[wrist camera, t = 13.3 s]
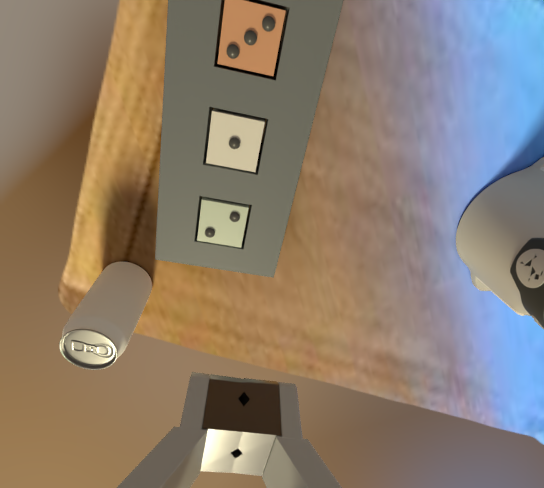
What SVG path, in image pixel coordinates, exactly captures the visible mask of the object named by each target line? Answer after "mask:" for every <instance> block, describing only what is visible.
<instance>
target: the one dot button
mask: <svg viewBox="0 0 544 488" xmlns="http://www.w3.org/2000/svg"><path fill="white" fill-rule="evenodd" d="M264 124H265V118H261V117H256V116H251V115H246V114H242V113H237V112H232V111H227V110H223V109H218V108H214V109H213V110H212V115H211V124H210V132H209V141H208V150H207V158H206V163H209V164H214V165H219V166H224V167H230V168H235V169H240V170H246V171H251V172H256V166H257V161H258V156H259V150H260V145H261V140H262V134H263V129H264Z"/></svg>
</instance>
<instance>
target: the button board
mask: <svg viewBox="0 0 544 488" xmlns="http://www.w3.org/2000/svg"><path fill="white" fill-rule="evenodd" d="M247 1H251V2H255V3H259V4H263V5H267V6H271V7H275V8H279V9H283V10H287V16H286V21H285V26H284V31H283V37H282V42H281V47H280V53H279V58H278V63H277V68H276V74H275V78H274V77H269V76H265V75H260V74H256V73H251V72H247V71H242V70H238V69H234V68H229V67H225V66H220V65H218V64H217V63H218V55H219V46H220V37H221V29H222V20H223V11H224V3H225V0H168V16H167V36H166V56H165V75H164V95H163V115H162V134H161V154H160V174H159V194H158V213H157V233H156V253H155V259H156V260H162V261H169V262H175V263H182V264H189V265H195V266H202V267H208V268H215V269H221V270H228V271H234V272H241V273H247V274H254V275H260V276H267V277H273V278H274V274H275V270H276V266H277V262H278V258H279V254H280V250H281V246H282V242H283V238H284V234H285V230H286V226H287V222H288V218H289V214H290V210H291V206H292V202H293V198H294V194H295V191H296V187H297V183H298V179H299V175H300V171H301V167H302V163H303V159H304V155H305V151H306V147H307V143H308V139H309V135H310V131H311V127H312V123H313V119H314V115H315V111H316V107H317V103H318V99H319V95H320V91H321V87H322V83H323V79H324V75H325V71H326V67H327V63H328V59H329V55H330V51H331V47H332V43H333V39H334V35H335V31H336V28H337V24H338V20H339V16H340V12H341V8H342V4H343V0H247ZM212 108H218V109H223V110H227V111H232V112H237V113H242V114H246V115H251V116H256V117H261V118H266V119H267V121H266V126H265V132H264V137H263V142H262V147H261V153H260V158H259V163H258V166H256V172H251V171H246V170H240V169H235V168H230V167H224V166H219V165H214V164H209V163H206V158H207V150H208V141H209V132H210V124H211V115H212ZM202 196H203V197H209V198H214V199H220V200H226V201H231V202H237V203H242V204H248V205H250V211H249V216H248V221H247V227H246V232H245V237H243V241H242V246H241V248H240V247H234V246H228V245H222V244H215V243H209V242H203V241H197V236H198V228H199V219H200V210H201V202H202Z"/></svg>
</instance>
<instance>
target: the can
mask: <svg viewBox="0 0 544 488" xmlns="http://www.w3.org/2000/svg"><path fill="white" fill-rule="evenodd" d="M151 290H152V282H151V278H150V276H149V275H148V273H147V272H146V271H145V270H144V269H142V268H141V267H140V266H138V265H136V264H133V263H130V262H115V263H112V264H110V265H108V266H107V267H106V268H105V269H104V270H103V271H102V273H101V274H100V275H99V277H98V278H97V280H96V281H95V282H94V284H93V285H92V287H91V288H90V290H89V291H88V292H87V294H86V295H85V297H84V298H83V300H82V301H81V302H80V304H79V305H78V307H77V308H76V310H75V311H74V313H73V314H72V316H71V317H70V319H69V320H68V322H67V323H66V325H65V327H64V329H63V334H62V335H63V336H62V338H61V340H60V343H59V347H60V351H61V353H62V355H63V356H64V357H65V358H66V359H67V360H68V361H69V362H71V363H72V364H74V365H76V366H78V367H81V368H84V369H90V370H91V369H92V370H99V369H104V368H107V367H109V366H111V365H112V364H113V363H114V362H115V361H116V359H117V358H118V357H119V356H120V355H121V354H122V353H123V352H124V350H125V349H126V347H127V345H128V343H129V340H130V338H131V336H132V334H133V332H134V329H135V327H136V325H137V323H138V320H139V318H140V316H141V314H142V311H143V309H144V307H145V305H146V302H147V300H148V298H149V296H150V293H151Z"/></svg>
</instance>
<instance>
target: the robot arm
mask: <svg viewBox="0 0 544 488" xmlns="http://www.w3.org/2000/svg"><path fill="white" fill-rule="evenodd" d="M456 247H457V251H458V254H459V256H460V258H461V259H462V261H463V262H464V263H465V264H466V265H467V267H468V268H469V270H470V272H471V280H472V283H473V285H474V286H475V287H476V288H477V289H479V290H481V291H492V292H493V293H494V294H495V295H496V296H497V297H498V298H500V299H501V300H502V301H503V302H504V303H505V304H506V305H508V306H509V307H510V308H511V309H512V310H513V311H515V312H516V313H517V314H519V315H522V316H524V315H529V316H532V317H533V318H534V321H535V322H536V323H537V324H538V325H539V326H541V327H542V328H543V329H544V157H542V158H541V159H540V160H538V161H537V162H536V163H534V164H533V165H532V166H530V167H528V168H526V169H523V170H521V171H518V172H515V173H512V174H510V175H507V176H505V177H503V178H501V179H499V180H498V181H496V182H494V183H493V184H491V185H490V186H488V187H487V188H486V189H485V190H483V191H482V192H481V193H480V194H479V195H478V196H477V197H476V198H475V199H474V200H473V201H472V203H471V204H470V205H469V206H468V208H467V209H466V211H465V212H464V214H463V216H462V218H461V220H460V223H459V225H458V229H457V234H456ZM209 377H210V378H209ZM200 471H210V472H229V473H240V474H249V475H258V476H263V477H262V479H263V481H264V483H265V485H266V487H267V488H342V487H341V486H340V485H339V483H338V482H337V480H336V479H335V477H334V476H333V475H332V473H331V472H330V470H329V469H328V468H327V466H326V465H325V463H324V462H323V460H322V459H321V458H320V457H319V455H318V453H317V452H316V451H315V449H314V448H313V446H312V445H311V443H310V442H309V441H308V440H307V439H302V431H301V422H300V414H299V404H298V395H297V387H296V385H295V384H291V383H281V382H276V381H266V380H256V379H245V378H244V379H240V378H233V377H226V376H219V375H212V374H211V375H209V374H204V373H196V372H192V374H191V377H190V381H189V386H188V391H187V396H186V400H185V405H184V410H183V414H182V419H181V424H180V427H173V429H172V430H171V431H170V432H169V433H168V434H167V435H166V436H165V437H164V438H163V439H162V440H161V441H160V442H159V443H158V444H157V446H156V447H155V448H154V449H153V450H152V451H151V452H150V453H149V454H148V455H147V456H146V457H145V458H144V459H143V460H142V461H141V462H140V464H139V465H138V466H137V467H136V468H135V469H134V470H133V471H132V472H131V473H130V474H129V475H128V476H127V477H126V478H125V480H124V481H123V482H122V483H121V484H120V485H119V486H118V487H117V488H190V487H191V485H192V484H193V482H194V481H195V480H196V478H197V477H198V475H199V473H200Z"/></svg>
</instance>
